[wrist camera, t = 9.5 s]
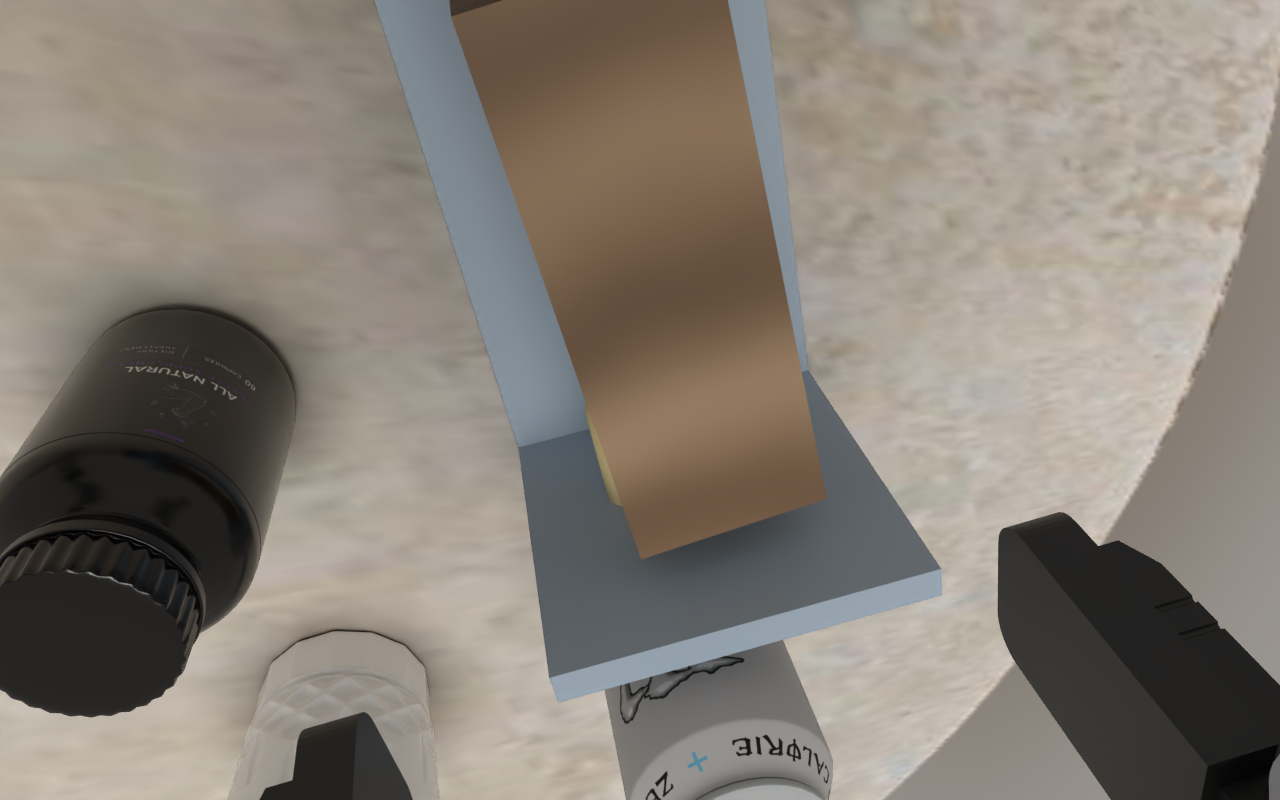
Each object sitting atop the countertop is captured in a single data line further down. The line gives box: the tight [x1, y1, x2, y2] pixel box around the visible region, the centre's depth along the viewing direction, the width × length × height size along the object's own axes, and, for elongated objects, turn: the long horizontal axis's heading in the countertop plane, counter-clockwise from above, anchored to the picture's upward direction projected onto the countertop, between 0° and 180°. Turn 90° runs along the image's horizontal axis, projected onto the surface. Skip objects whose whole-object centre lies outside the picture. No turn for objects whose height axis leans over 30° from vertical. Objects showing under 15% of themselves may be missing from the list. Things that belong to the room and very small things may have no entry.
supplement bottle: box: [0, 309, 296, 717], centre depth 28 cm, size 7×7×12 cm
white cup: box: [227, 631, 440, 800], centre depth 37 cm, size 8×8×10 cm
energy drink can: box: [605, 640, 833, 800], centre depth 33 cm, size 6×6×15 cm
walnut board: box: [450, 0, 827, 559], centre depth 25 cm, size 15×6×4 cm, turn 15°
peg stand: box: [374, 0, 942, 703], centre depth 27 cm, size 20×11×12 cm, turn 11°
